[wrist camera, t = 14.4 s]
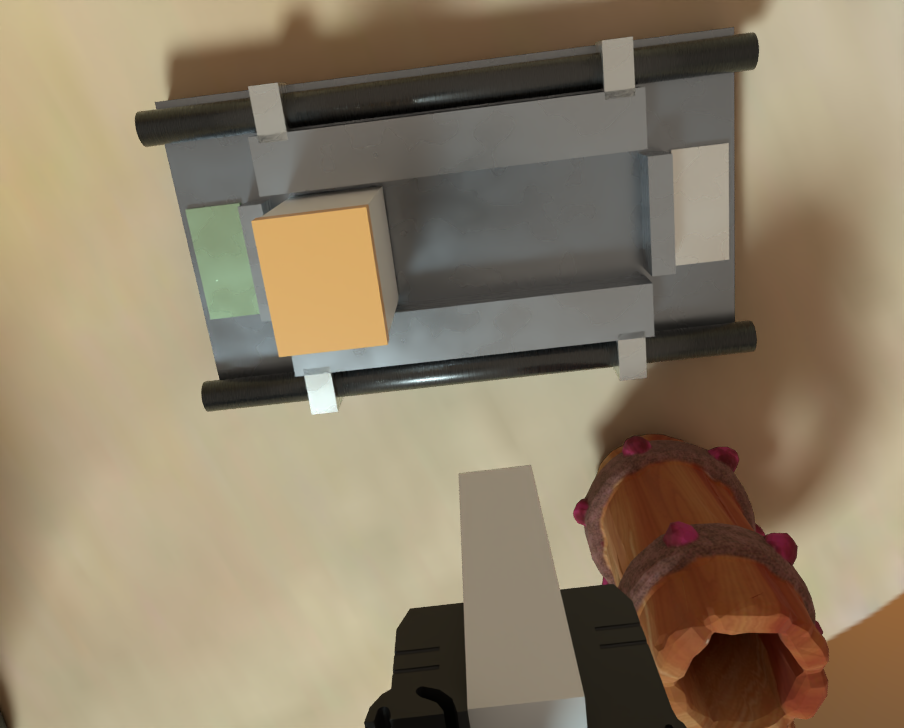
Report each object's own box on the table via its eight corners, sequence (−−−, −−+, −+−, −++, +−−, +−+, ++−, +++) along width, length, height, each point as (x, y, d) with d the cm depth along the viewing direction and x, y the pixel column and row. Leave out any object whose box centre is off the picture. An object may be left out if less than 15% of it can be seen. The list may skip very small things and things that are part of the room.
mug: (544, 441, 40) (592, 638, 26) (699, 380, 39) (839, 552, 24) (639, 659, 44) (725, 931, 30) (781, 611, 43) (940, 870, 29)
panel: (225, 400, 39) (206, 425, 36) (155, 100, 34) (127, 101, 32) (734, 344, 38) (757, 365, 35) (734, 25, 33) (760, 20, 30)
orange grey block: (310, 309, 36) (278, 357, 30) (289, 195, 34) (251, 221, 28) (400, 299, 36) (387, 345, 29) (383, 184, 34) (366, 207, 28)
